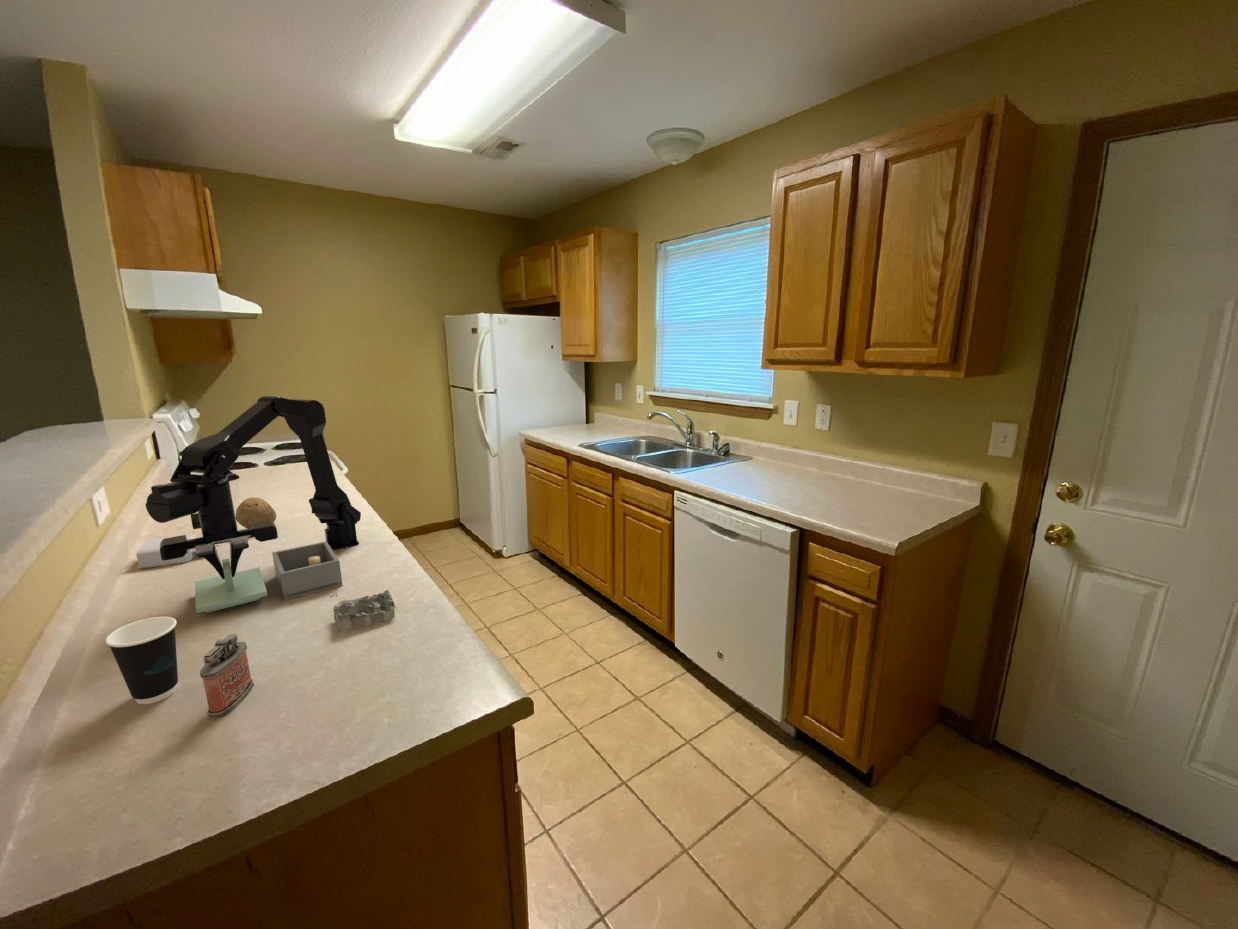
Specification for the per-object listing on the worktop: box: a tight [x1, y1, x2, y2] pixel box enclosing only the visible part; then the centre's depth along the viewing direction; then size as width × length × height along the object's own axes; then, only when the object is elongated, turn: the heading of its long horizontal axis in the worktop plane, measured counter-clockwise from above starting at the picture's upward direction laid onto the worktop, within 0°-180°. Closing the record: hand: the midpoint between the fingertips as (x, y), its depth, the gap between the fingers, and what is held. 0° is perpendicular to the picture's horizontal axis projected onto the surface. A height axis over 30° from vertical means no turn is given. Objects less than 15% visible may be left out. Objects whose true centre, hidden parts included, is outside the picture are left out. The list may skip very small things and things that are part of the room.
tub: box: [271, 540, 343, 601], centre depth 116 cm, size 11×14×6 cm
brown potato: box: [235, 496, 277, 529], centre depth 145 cm, size 9×9×10 cm
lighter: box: [199, 633, 255, 720], centre depth 78 cm, size 8×3×10 cm, turn 5°
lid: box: [194, 558, 268, 614], centre depth 108 cm, size 11×14×7 cm
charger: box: [136, 534, 222, 570], centre depth 129 cm, size 5×9×15 cm
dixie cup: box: [105, 616, 179, 705], centre depth 79 cm, size 8×8×11 cm
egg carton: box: [332, 589, 396, 633], centre depth 102 cm, size 11×8×4 cm
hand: (228, 577), depth 107 cm, fingers closed on lid
